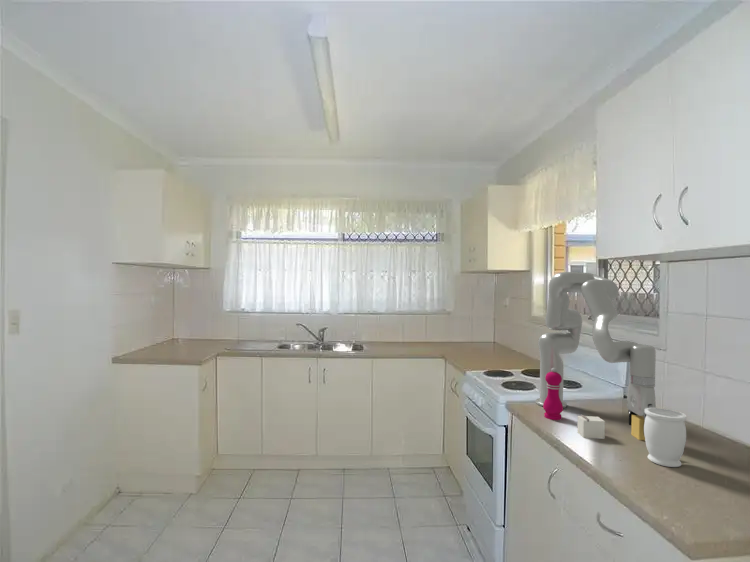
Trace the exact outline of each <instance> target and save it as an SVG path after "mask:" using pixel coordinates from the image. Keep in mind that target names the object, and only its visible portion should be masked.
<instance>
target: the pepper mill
mask: <svg viewBox="0 0 750 562" xmlns="http://www.w3.org/2000/svg"><path fill="white" fill-rule="evenodd" d="M551 371H552V372H549V373H547V374H546V377H545V380H546V381H547V388H548V395H547V398H546V399H545V401H544V404H543V406H542V408H543V410H544V411H545V412H544V413H543V416H544V418H545V419H548V420H552V421H560V420H562V414H561V413H562V412H563V411H564V408H563V405H562V402H561V400H560V398H559V389H560V385H559V384H560V383H561V381H562V377H561V375H560V374H559V373H557V372H556V369H555V368H552V369H551Z"/></svg>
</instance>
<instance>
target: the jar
mask: <svg viewBox="0 0 750 562" xmlns="http://www.w3.org/2000/svg"><path fill="white" fill-rule="evenodd" d="M644 410H645V411H644V412H645V414H646V418H645V422H644V435H645V440H644V441H645V447H646V449H647V451H648V454H647V459H648V460H650V461H651V463H654V464H656V465H659V466H664V467H669V468H678V467H681V466H682V462H681V458H682V457H683V454H684V451H685V446H686V442H687V427H686V423H685V421H686V420H687V415H686V414H685V413H683V412H680V411H676V410H673V409H669V408H668V409H667V408H661V407H656V408H645V409H644Z"/></svg>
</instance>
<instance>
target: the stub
mask: <svg viewBox="0 0 750 562" xmlns="http://www.w3.org/2000/svg"><path fill="white" fill-rule="evenodd" d="M644 422H645V419H644V417H643V416H639V415H632V425H630V426H631V436H632V437H634V438H635V439H637V440H638V441H645V435H644Z"/></svg>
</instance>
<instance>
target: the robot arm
mask: <svg viewBox="0 0 750 562" xmlns="http://www.w3.org/2000/svg"><path fill="white" fill-rule="evenodd" d="M569 293H579V294H580V293H581V294H582V297H583V298H584V301H585V303H586V305H587V307H588V309H589V311H590V314H591V316H592V318H593V320H594V321H593V322H594V323H593V325H592V340H593V344H594V345H595V347H596V350H597V352H598V354H599V356H600V357H601V359H603V360H604V361H605V362H606V363H611V364H613V363H614V364H615V363H617V364H618V363H629V383H628V389H627V397H626V398H627V399H626V408H627V409H628V411H627V412H628V425H629V426H631V425H632V415H639V416H643V417H644V419H645V418H646V414H645V412H644V411H645V410H644V409H645V408H657V406H656V389H655V387H656V360H657V359H656V357H657V356H656V355H657V354H656V353H657V352H656V348H655V347H654V346H652V345H649V344H643V343H642V344H641V343H640V344H639V343H637V342H634V341H629V340H622V341H620V340H619V341H614V340H613V339H612V336H611V335H610V332H609V323H611V322H612V321H613V320H614V319H616V318H617V317H618V315H619V314H618V313H619V312H618V310H617V308H616V306H615V304H614V303H613V301H614V300H616V299H617V298H618V296H619V293H620V292H619V286H618V285H617V284H616V282H614V281H613V280H611V279H609V278H606V277H602V276H601V275H596V274H593V273H591V272H576V271H563V272H558V273H555V274H554V275H553V276H552V277H551V279H550V280H549V284H548V301H547V306H546V312H545V313H546V314H545V320H544V321H545V322H544V323H545V326H546V328H547V329H549V330H551V331H556V332H546V333H543V334H541V335H540V336H539V338H538V340H537V345H538V351H539V363H540V364H539V398H537V399H536V400H535V403H536V404H537V405H538V406H541V407H543V404H544V401H545V399H546V398H547V395H548V388H547V381H546V380H545V377H546V374H547V373H549V372H552V371H551V369H552V368H555V369H556V372H557V373H559V374H560V375H561V377H562V381H561V383H560V384H559V385H560V389H559V398H560V400H561V402H562V405H563V409H565V408H567V403H568V402H566V401H564V362H563V360H562V358H561V355H565V354H566V355H567V354H568V355H569V354H572V353H575V352H576V351H577V350H578V347H579V344H580V338H581V334H582V333H581V332H582V328H583V327H582V325H583V319H582V315H581V313H580V312H579V311H578V310H577V309H576V308H575V309H574V308H570V307H569V306H570V302H571V301H570V296H569ZM557 331H559V332H557ZM560 331H561V332H560Z"/></svg>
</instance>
